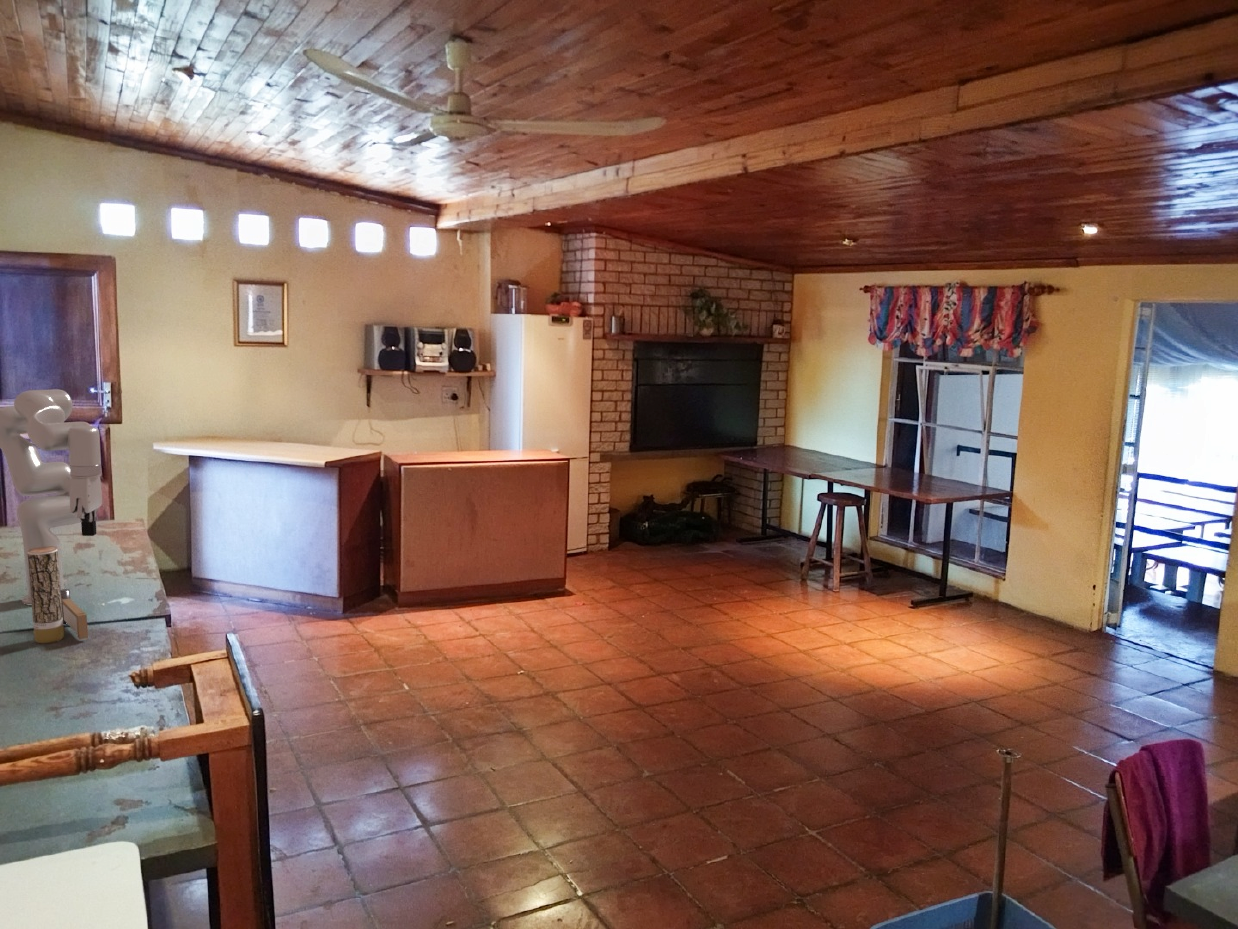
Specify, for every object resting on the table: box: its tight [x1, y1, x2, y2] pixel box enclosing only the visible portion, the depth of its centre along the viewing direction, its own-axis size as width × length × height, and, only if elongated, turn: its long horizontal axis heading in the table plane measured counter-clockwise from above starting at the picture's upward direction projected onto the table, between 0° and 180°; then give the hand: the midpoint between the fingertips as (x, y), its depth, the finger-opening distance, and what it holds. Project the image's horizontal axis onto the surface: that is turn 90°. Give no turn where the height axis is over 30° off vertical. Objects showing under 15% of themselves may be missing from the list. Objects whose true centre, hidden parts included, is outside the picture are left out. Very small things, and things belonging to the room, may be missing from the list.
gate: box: [62, 597, 89, 640], centre depth 254 cm, size 2×18×6 cm, turn 43°
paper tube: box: [28, 547, 65, 644], centre depth 247 cm, size 7×7×25 cm
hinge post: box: [61, 588, 71, 625], centre depth 262 cm, size 3×3×10 cm
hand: (89, 535), depth 259 cm, fingers closed
